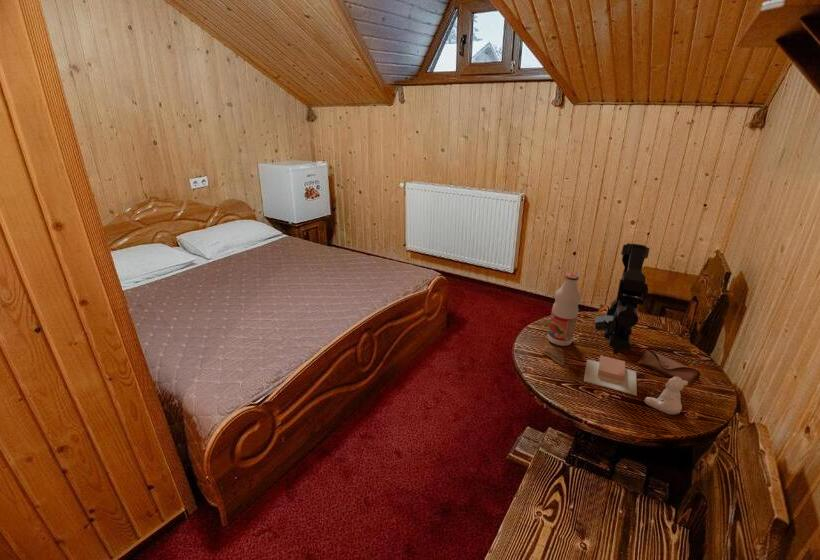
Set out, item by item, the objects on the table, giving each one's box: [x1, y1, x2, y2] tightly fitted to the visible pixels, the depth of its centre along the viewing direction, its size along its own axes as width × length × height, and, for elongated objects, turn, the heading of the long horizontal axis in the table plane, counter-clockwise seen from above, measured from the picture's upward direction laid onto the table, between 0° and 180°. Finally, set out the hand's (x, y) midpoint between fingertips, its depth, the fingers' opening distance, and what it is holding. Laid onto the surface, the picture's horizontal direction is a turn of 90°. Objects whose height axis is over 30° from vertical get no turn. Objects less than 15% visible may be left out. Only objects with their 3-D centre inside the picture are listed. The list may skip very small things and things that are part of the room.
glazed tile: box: [597, 354, 626, 383], centre depth 140 cm, size 2×8×10 cm
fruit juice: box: [547, 272, 582, 347], centre depth 155 cm, size 9×9×28 cm
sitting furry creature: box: [644, 377, 688, 415], centre depth 122 cm, size 10×9×12 cm
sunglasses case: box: [636, 348, 701, 388], centre depth 143 cm, size 18×7×7 cm, turn 40°
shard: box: [542, 345, 565, 367], centre depth 149 cm, size 11×8×2 cm
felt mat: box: [583, 358, 638, 397], centre depth 139 cm, size 14×16×1 cm
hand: (615, 353), depth 138 cm, fingers closed
